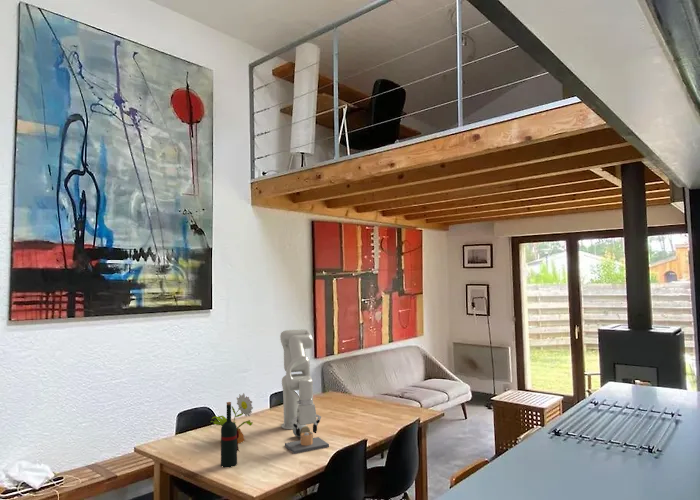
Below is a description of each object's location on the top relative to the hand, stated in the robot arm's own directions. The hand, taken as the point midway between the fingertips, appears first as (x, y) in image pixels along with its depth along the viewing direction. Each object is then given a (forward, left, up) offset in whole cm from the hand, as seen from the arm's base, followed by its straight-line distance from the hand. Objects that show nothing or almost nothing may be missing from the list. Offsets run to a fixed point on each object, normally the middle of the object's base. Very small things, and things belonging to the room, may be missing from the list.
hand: (306, 434), depth 260 cm
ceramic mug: (-17, +5, -7) cm, 19 cm away
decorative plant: (-31, -34, -7) cm, 46 cm away
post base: (0, 0, -7) cm, 7 cm away
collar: (0, 0, -5) cm, 5 cm away
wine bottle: (+4, -42, -7) cm, 43 cm away
